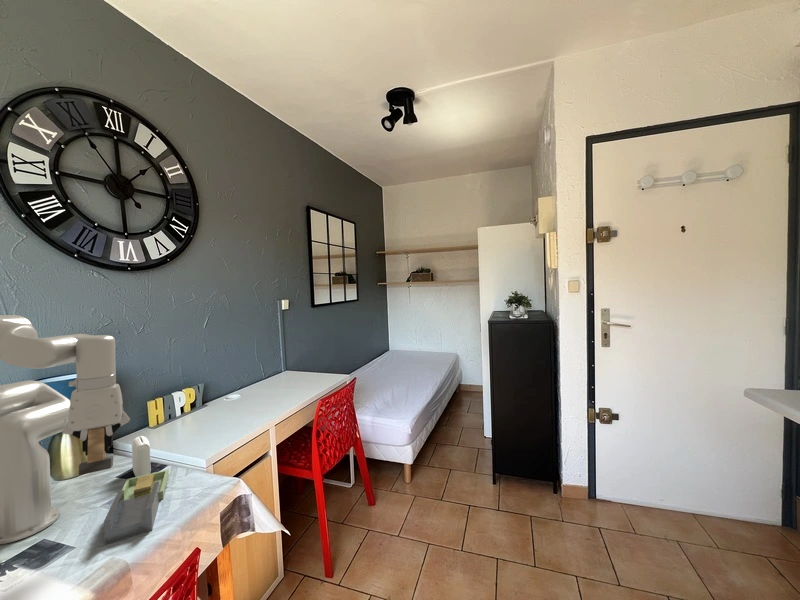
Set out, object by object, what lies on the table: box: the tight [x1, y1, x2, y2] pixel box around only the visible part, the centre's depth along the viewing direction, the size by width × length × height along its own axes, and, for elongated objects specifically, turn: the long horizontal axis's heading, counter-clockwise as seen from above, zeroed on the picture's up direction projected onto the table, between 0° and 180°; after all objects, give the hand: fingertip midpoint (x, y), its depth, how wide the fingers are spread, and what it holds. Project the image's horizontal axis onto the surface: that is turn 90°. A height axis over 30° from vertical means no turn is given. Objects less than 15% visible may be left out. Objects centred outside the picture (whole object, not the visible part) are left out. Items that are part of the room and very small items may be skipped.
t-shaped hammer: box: [78, 426, 114, 476], centre depth 83 cm, size 6×3×10 cm, turn 124°
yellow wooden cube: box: [134, 480, 153, 497], centre depth 97 cm, size 4×4×4 cm
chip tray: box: [121, 469, 170, 501], centre depth 100 cm, size 11×14×2 cm
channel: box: [103, 481, 161, 545], centre depth 87 cm, size 9×14×6 cm
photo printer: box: [131, 435, 152, 477], centre depth 111 cm, size 10×4×12 cm, turn 47°
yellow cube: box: [136, 473, 155, 485], centre depth 100 cm, size 4×4×4 cm
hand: (98, 450), depth 84 cm, fingers closed on t-shaped hammer, 3 cm apart
